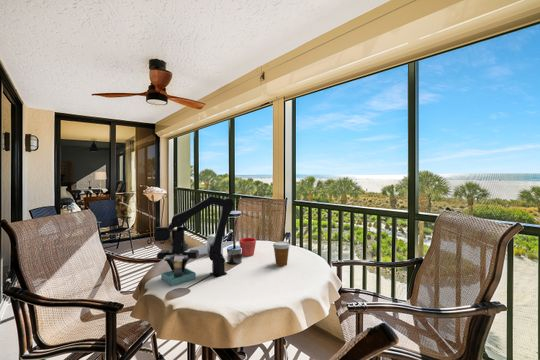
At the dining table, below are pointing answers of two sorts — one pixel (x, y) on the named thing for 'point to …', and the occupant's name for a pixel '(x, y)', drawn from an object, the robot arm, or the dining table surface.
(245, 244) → the flower pot
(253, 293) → the dining table surface
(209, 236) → the supplement box
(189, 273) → the trough tray
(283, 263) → the disposable coffee cup
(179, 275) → the battery cell
